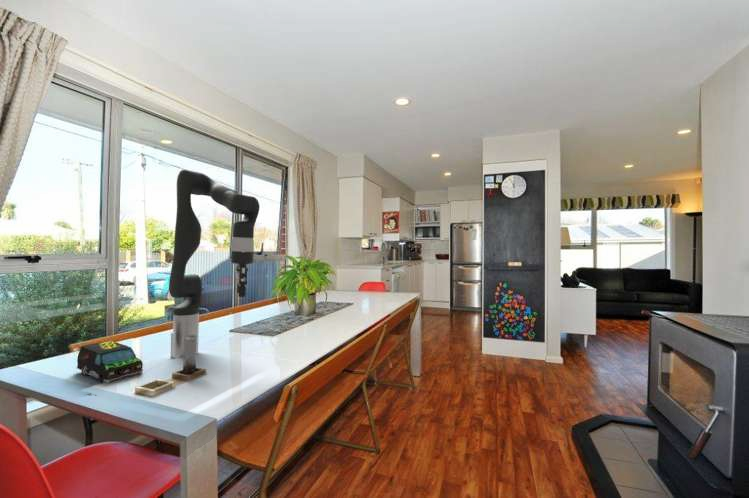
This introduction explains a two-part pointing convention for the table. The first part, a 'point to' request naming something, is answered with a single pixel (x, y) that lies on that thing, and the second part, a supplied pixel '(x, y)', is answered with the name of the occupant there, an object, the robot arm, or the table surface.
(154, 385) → the wooden trays
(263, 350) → the table surface
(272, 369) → the table surface
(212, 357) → the table surface
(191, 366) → the grey tall bar
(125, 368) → the toy van
